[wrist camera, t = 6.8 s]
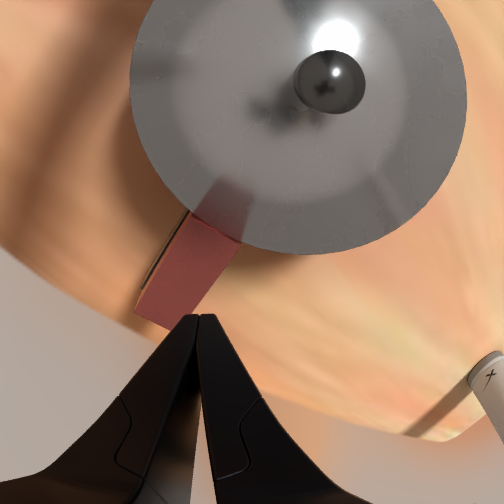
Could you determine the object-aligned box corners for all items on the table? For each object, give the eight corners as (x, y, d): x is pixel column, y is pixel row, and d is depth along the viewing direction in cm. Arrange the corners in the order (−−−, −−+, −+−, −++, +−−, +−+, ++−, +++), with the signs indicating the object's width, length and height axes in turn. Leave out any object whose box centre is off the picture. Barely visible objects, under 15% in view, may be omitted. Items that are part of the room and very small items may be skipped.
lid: (270, -101, 7) (277, -126, 5) (489, 87, 11) (519, 91, 9) (42, 238, 14) (19, 261, 11) (271, 357, 18) (276, 388, 16)
